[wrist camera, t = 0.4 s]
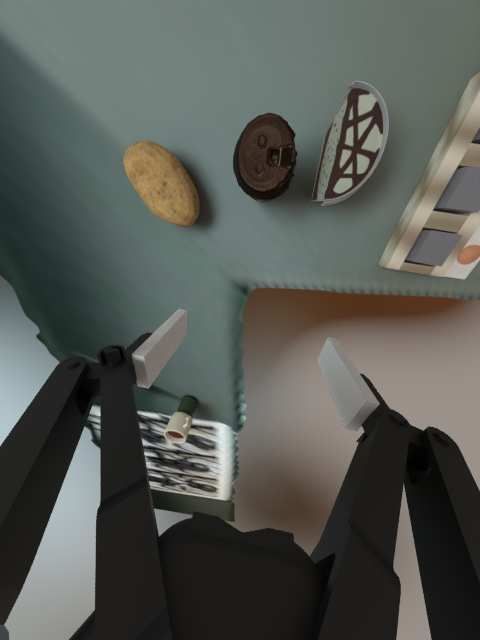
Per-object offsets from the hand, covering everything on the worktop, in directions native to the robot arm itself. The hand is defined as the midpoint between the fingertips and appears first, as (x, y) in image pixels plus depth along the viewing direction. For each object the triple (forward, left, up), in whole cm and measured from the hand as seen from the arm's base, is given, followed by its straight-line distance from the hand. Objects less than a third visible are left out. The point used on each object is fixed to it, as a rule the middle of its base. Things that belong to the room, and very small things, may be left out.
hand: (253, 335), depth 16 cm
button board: (-18, +30, -27) cm, 45 cm away
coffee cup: (-16, -2, -28) cm, 32 cm away
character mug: (+51, -16, -28) cm, 60 cm away
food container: (-19, +10, -28) cm, 35 cm away
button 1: (-10, +30, -26) cm, 41 cm away
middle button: (-18, +30, -26) cm, 44 cm away
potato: (-12, -19, -28) cm, 36 cm away
